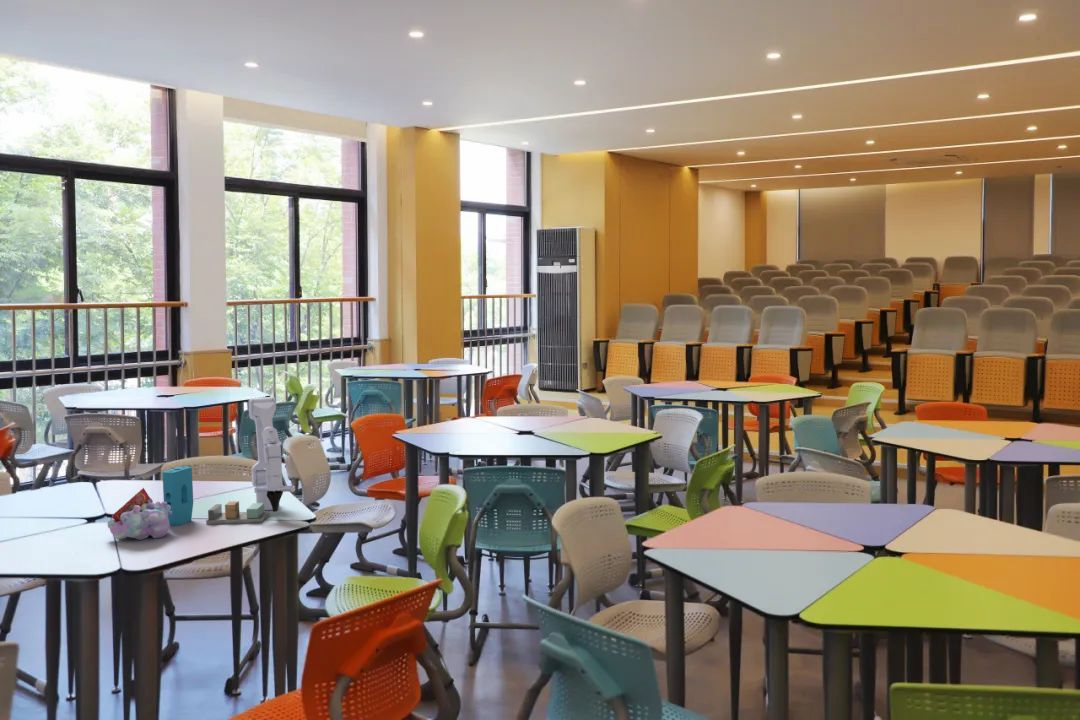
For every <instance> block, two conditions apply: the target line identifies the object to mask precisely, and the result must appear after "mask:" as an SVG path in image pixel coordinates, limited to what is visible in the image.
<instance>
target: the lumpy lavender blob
mask: <svg viewBox="0 0 1080 720" xmlns="http://www.w3.org/2000/svg"><path fill="white" fill-rule="evenodd" d="M153 502H154V500H153V499H152V497H150V495H149V494H148V492H147V491H146V489H145V488H144V487H142V488H141V489H140V490H139V491H138V492H136V493H135V495H133V496H132V497H131V498H130V499H129V500H128V501H127V502H126V503H125V504H123V505H122V506H121V507H120V508H119V509H118V510H116V511H115V512H114V513H113V514H112V515H111V518H110V519H108V520H109V521H107V528H108V529H109V531H110V533H111V534H112V535H113V537H114V538H115V539H116V540H124V539H126V538H127V537H128V538H131V539H136V540H138V541H142V540H145V539H146V538H149V536H151V537H152V538H153V539H160V538H163V537H165V535H167V534H168V532H169V530H170V529H171V528H170V527H171V525H170V524H169V519H168V515H171V514H172V511H170V509H171V506H170V505H167V502H164V501H162V502H160V501H156V502H155V503H153Z"/></svg>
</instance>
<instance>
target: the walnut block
mask: <svg viewBox="0 0 1080 720" xmlns="http://www.w3.org/2000/svg"><path fill="white" fill-rule="evenodd" d="M239 512H240V501H239V500H229V501H228V502H227V503H226V504H224V513H225V518H236V517H237V516H238V515H239Z"/></svg>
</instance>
